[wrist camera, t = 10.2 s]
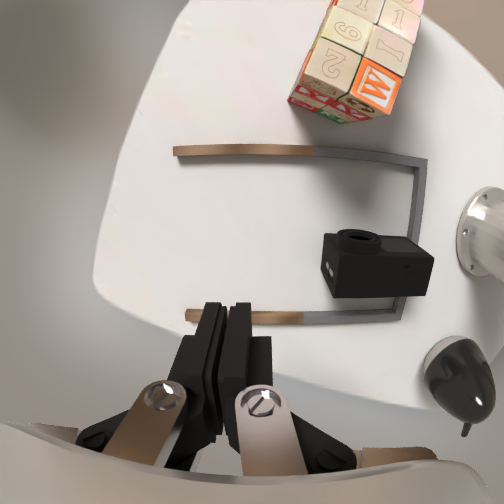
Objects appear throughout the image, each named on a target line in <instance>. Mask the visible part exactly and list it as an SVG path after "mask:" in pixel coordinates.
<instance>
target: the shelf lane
mask: <svg viewBox="0 0 504 504" xmlns="http://www.w3.org/2000/svg"><path fill="white" fill-rule="evenodd" d="M216 154H274V155H303V156H315V146H303V145H277V144H217V145H191V146H174V147H173V156H188V155H216ZM202 312H203V310H200V309H187V310H186V312H185V319H186V321H195V322H199V321H200V318H201V315H202ZM227 316H229V311H227ZM251 318H252V324H303V321H304V315H303V312H272V311H251Z"/></svg>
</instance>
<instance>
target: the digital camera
mask: <svg viewBox="0 0 504 504" xmlns="http://www.w3.org/2000/svg"><path fill="white" fill-rule="evenodd" d="M433 263H434V257H433V256H431V255H430V254H429V253H427V252H426V251H425V250H423V249H422V248H421V247H419V246H418V245H416V244H415V243H414V242H412V241H411V240H409V239H408V238H407V237H402V236H382V235H377V234H375V233H372V232H369V231H364V230H357V229H344V230H340V231H338V232H337V234H332V233H325V234H324V242H323V252H322V262H321V271H322V273H323V276H324V278H325V280H326V282H327V285H328V287H329V289H330V292H331V294H332V296H333V298H383V297H411V296H425V295H426V292H427V288H428V284H429V280H430V276H431V272H432V268H433Z"/></svg>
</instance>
